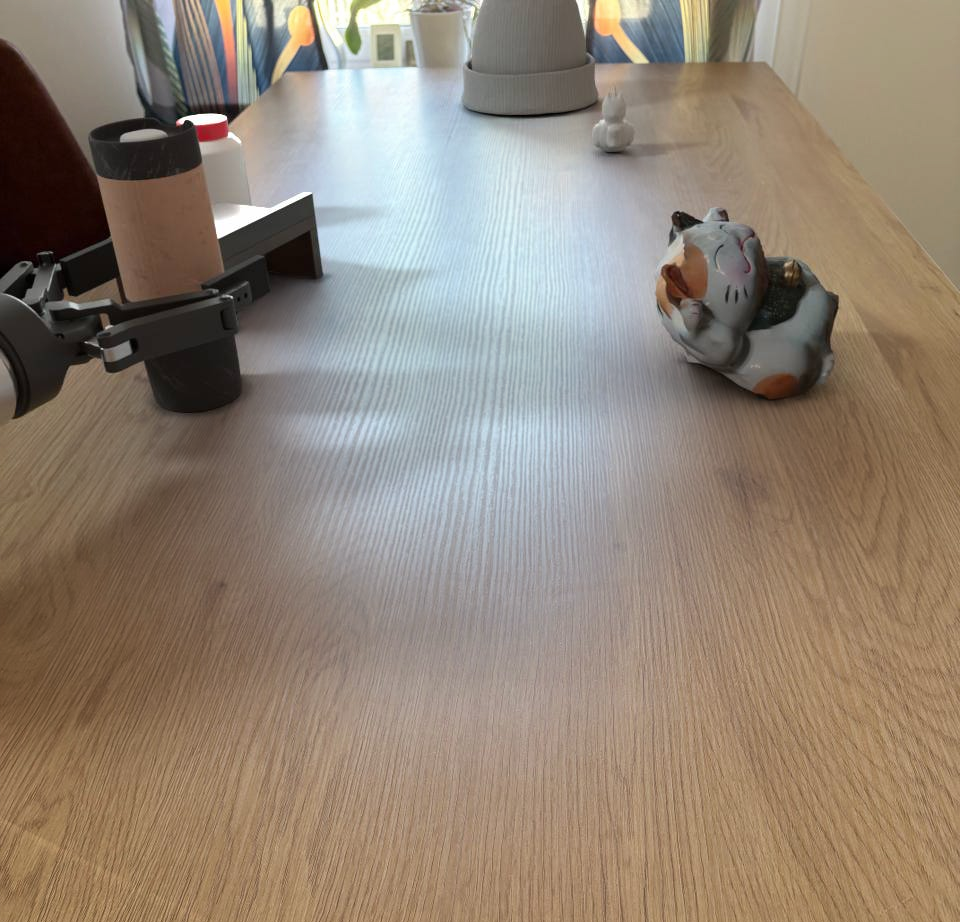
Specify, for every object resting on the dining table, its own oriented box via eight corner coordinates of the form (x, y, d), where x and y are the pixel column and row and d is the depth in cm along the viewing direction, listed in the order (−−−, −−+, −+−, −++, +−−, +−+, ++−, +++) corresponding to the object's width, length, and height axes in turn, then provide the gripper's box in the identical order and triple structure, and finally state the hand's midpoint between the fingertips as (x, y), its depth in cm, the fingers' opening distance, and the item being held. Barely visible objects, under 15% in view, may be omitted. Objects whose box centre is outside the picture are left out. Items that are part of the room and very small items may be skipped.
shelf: (124, 314, 102) (103, 228, 97) (228, 260, 113) (214, 181, 108) (224, 333, 98) (207, 243, 93) (323, 275, 109) (312, 192, 104)
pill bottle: (173, 224, 124) (152, 121, 117) (231, 209, 128) (213, 108, 121) (209, 238, 119) (188, 132, 112) (267, 222, 123) (251, 118, 116)
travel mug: (161, 422, 84) (94, 148, 72) (143, 385, 89) (78, 125, 77) (256, 401, 86) (207, 132, 74) (233, 366, 92) (184, 111, 79)
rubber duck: (631, 145, 144) (634, 79, 139) (635, 158, 138) (638, 90, 134) (590, 146, 144) (592, 80, 139) (592, 159, 139) (594, 91, 134)
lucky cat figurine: (825, 413, 80) (758, 259, 72) (680, 440, 88) (604, 304, 80) (858, 289, 88) (801, 137, 80) (722, 324, 96) (657, 188, 87)
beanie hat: (601, 149, 173) (611, 15, 170) (584, 106, 152) (596, -48, 149) (474, 149, 177) (481, 18, 174) (441, 107, 157) (449, -43, 153)
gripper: (-129, 390, 76) (86, 288, 90) (140, 459, 66) (332, 333, 81) (-173, 284, 71) (61, 195, 86) (109, 342, 62) (319, 231, 76)
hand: (193, 262), depth 83 cm, fingers open, 13 cm apart
